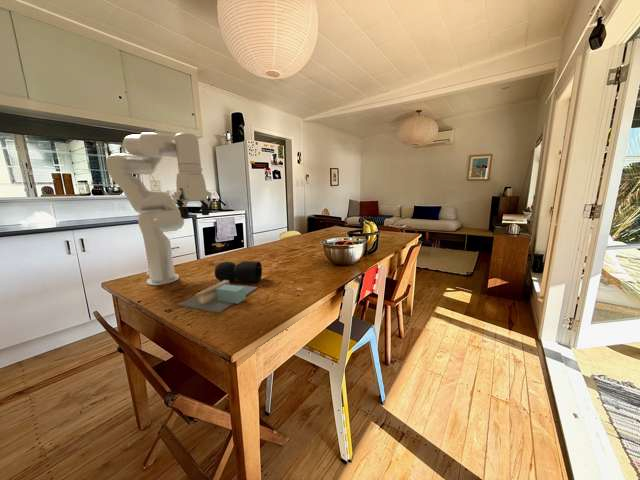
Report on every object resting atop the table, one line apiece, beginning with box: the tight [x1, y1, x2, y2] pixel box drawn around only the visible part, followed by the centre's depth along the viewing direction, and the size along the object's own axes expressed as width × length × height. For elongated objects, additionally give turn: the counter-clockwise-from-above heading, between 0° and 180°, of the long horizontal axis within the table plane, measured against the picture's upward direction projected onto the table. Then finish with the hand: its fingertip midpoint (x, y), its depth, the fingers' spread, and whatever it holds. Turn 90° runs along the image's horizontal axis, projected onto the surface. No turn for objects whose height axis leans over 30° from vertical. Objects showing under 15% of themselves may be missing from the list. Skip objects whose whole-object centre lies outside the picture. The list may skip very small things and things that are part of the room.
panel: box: [178, 283, 259, 314], centre depth 97 cm, size 18×22×1 cm
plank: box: [195, 280, 231, 305], centre depth 95 cm, size 2×14×4 cm, turn 160°
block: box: [216, 284, 247, 305], centre depth 92 cm, size 4×4×9 cm
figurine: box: [214, 260, 263, 284], centre depth 112 cm, size 9×9×20 cm
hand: (195, 216), depth 96 cm, fingers open, 9 cm apart
